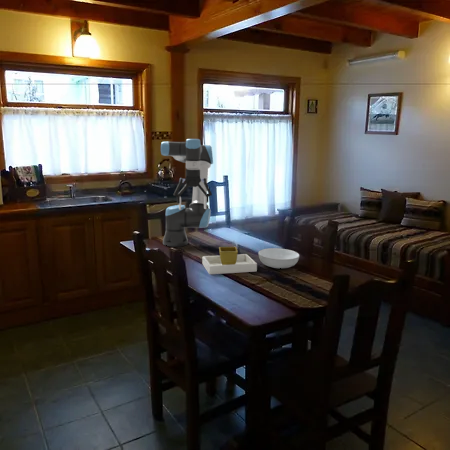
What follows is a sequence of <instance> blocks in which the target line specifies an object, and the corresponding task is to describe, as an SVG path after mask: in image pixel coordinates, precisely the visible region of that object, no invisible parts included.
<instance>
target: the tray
mask: <svg viewBox="0 0 450 450" xmlns="http://www.w3.org/2000/svg"><path fill="white" fill-rule="evenodd" d="M201 259H202V260H201V262H202V266H203V267H204V268H205V270H206V271H207V273H208V275H219V274H220V275H221V274H235V273H237V274H238V273H249V272H250V273H251V272H252V273H253V272H257V270H258V263H257V262H256V261H255V260H254V259H252V258H251V257H250V256H249V255H248V254H247V253H243V254H237V261H236V264H231V265H222V263H221V259H220V255H204V256H202V258H201Z"/></svg>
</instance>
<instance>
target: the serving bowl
mask: <svg viewBox="0 0 450 450" xmlns="http://www.w3.org/2000/svg"><path fill="white" fill-rule="evenodd" d="M258 258H259V260H260V262H261V263H262V264H263V265H265V266H267V267H270V268H273V269H280V268H281V269H288V268H291V267H294V266H295V265H296V264H297V263H298V261H299V259H300V254H299V253H298V252H297V251H294V250H291V249H287V248H286V249H285V248H276V247H275V248H274V247H272V248H271V247H270V248H269V247H268V248H264V249H261V250H259V251H258Z"/></svg>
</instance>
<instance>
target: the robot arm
mask: <svg viewBox="0 0 450 450" xmlns="http://www.w3.org/2000/svg"><path fill="white" fill-rule="evenodd" d="M160 154H161V156H166V157H173V159H174V160H175V161H178V162H181V163H183V164H184V163H185V178H182V177H180V178H179V181H178V184H177V186H176V188H175V190H174V193H173V196H174V197H176V203H177V205H176V204H175V205H171V206H168V207H167V208H166V209H165V233H164V236H163V238H162V244H163V246H166V245H167V246H166V247H175V248H177V247H178V248H179V247H183V246H187V245H188V244H189V239H188V236H187V233H186V228H193V229H194V228H197V229H203V228H208V226H209V225H210V220H211V212H212V210H211V208H209V205H208V203H209V197H211V196H212V195H213V194H212V191H211V189H210V187H209V185H208V178H209V177H208V176H209V169H210V168H211V165H213V164H214V159H213V157H214V156H213V147H212V146H211V145H207V144H201V139H199V138H187V139H186V140H185V141H162V142H161V144H160ZM184 182H185V184H184ZM183 184H184V186H183V187H182V188H181V186H182V185H183ZM188 188H192V197H191V198H192V199H191V203H190V204H189V207H186V206H185V204H182V197H181V196H182V195H183V193H184V192H185V191H186V190H188ZM180 189H181V190H180Z"/></svg>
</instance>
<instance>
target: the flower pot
mask: <svg viewBox="0 0 450 450" xmlns="http://www.w3.org/2000/svg"><path fill="white" fill-rule="evenodd" d="M218 249H219V250H218V251H219V256H220V259H221V263H222V265H231V264H236V261H237V255H239V254H238V253H239V252H238V249H237V247H236V246H219V247H218Z"/></svg>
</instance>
